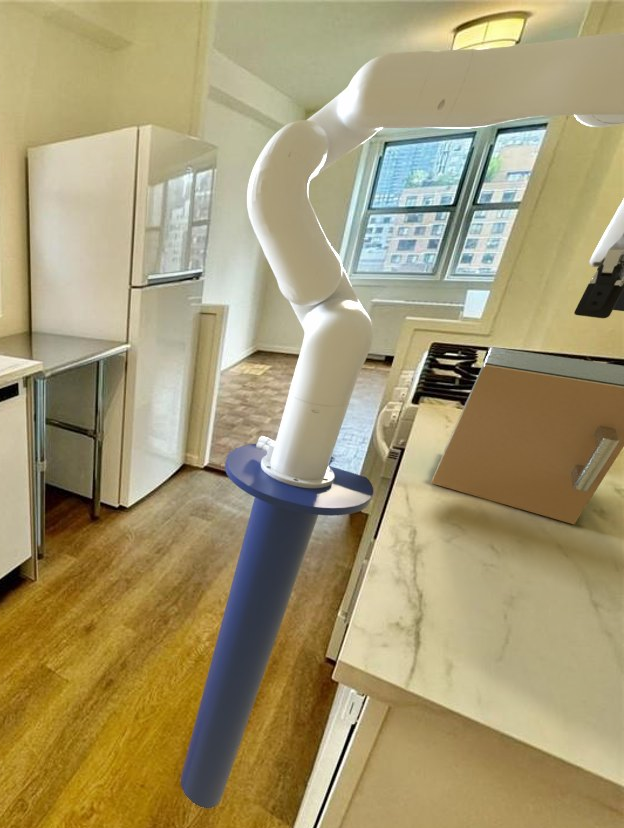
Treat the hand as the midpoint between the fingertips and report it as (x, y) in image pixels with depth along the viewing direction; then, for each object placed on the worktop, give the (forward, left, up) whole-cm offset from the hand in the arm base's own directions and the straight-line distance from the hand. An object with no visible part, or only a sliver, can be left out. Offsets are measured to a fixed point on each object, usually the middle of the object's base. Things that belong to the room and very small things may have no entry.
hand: (602, 313), depth 66 cm
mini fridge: (-3, +8, -31) cm, 33 cm away
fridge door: (0, -2, -31) cm, 31 cm away
